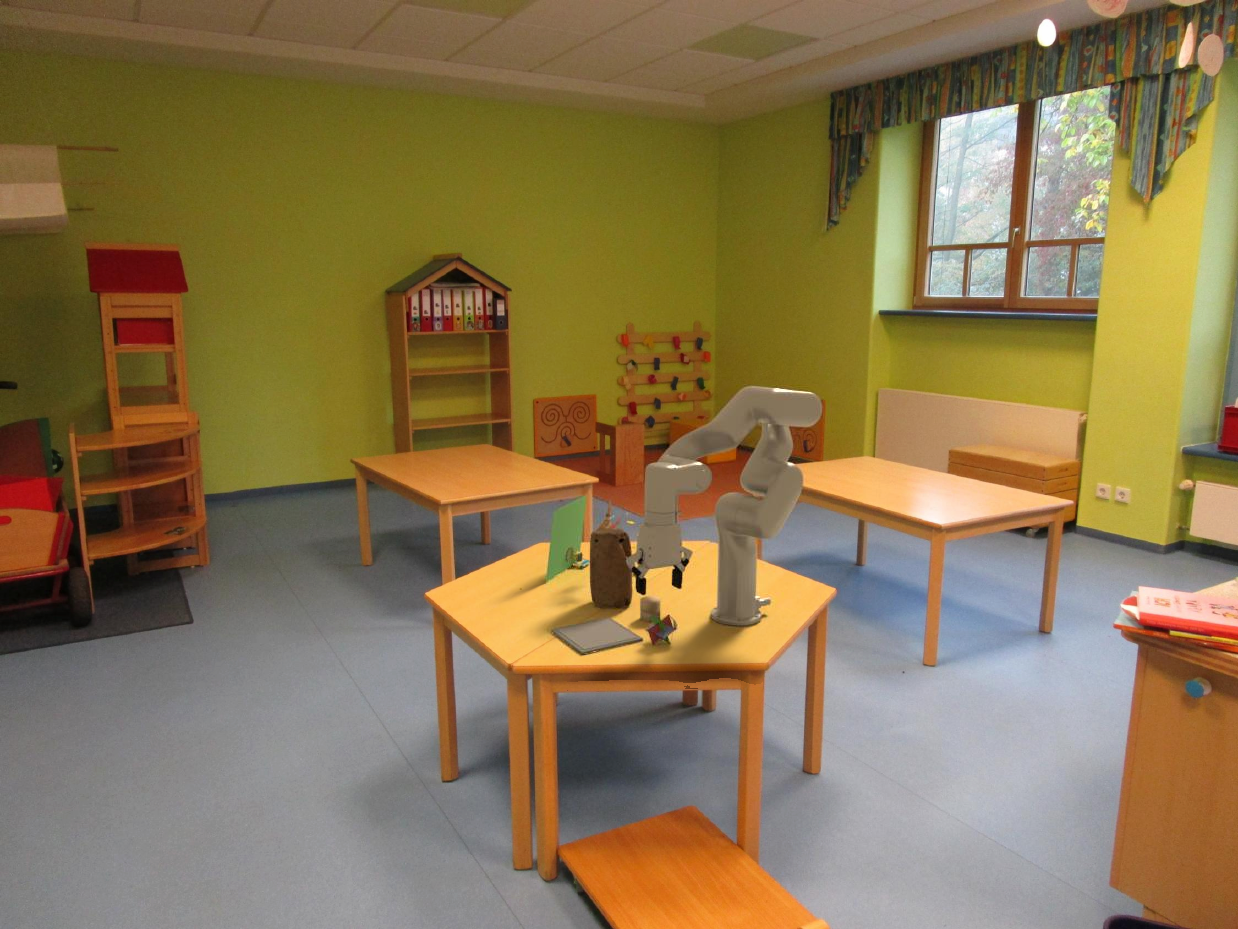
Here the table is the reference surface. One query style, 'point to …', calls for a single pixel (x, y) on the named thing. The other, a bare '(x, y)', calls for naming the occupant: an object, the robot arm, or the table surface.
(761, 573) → the table surface
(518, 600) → the table surface
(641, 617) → the tan rounded cylinder
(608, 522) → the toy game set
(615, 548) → the block
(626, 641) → the felt mat
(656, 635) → the geometric puzzle
